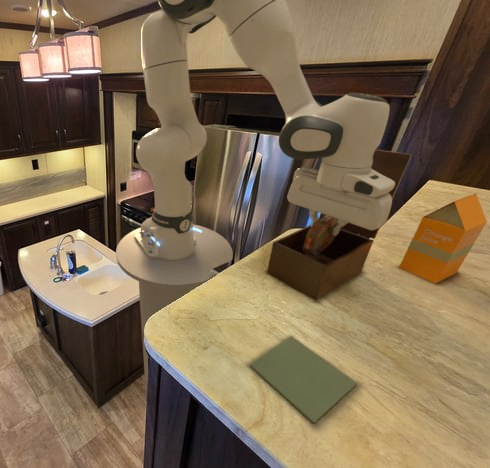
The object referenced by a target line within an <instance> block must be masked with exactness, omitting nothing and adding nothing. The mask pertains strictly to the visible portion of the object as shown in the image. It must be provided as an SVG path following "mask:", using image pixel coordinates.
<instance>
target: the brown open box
mask: <svg viewBox="0 0 490 468" xmlns="http://www.w3.org/2000/svg"><path fill="white" fill-rule="evenodd" d="M310 225H311V224H309V225H307V226H305V227H303V228H301V229H299V230H296V231H294V232H292V233H290V234H287V235H285V236H283V237H281V238H279V239H277V240H274V241H273V242H272V246H271V251H270V255H269V260H268V266H267V271H266V273H267V274H269V275H270V276H272V277H274V278H275V279H277V280H280V281H281V282H282V283H284V284H286V285H288V286H290V287H291V288H293V289H295V290H296V291H298V292H300V293H302V294H304V295H306V296H308V298H311V299H313V300H314V301H318V300H320V299H322V298H323V297H324V296H326V295H327V294H329V293H331V292H332V291H334V290H335V289H337V288H339V287H340V286H342V285H343V284H345V283H346V282H348V281H350V280H351V279H353V278H354V277H356V276H357V275H359V274H360V273H362V271H363V268H364V266H365V264H366V260H367V258H368V256H369V254H370V251H371V249H372V246H373V244H374V241H375V239H372V238H370V237H367V236H364V235H361V234H358V233H355V232H352V231H350V230H347V229H344V228H340V231H339V233H338V234H337V235H336V236H335V238H334V240H333V241H332V242H331V244H330V245H329V246H327V247H326V248H325V249H324V250H323V251H322V252H321V253H319V254H318V255H317V256H315V257H313V256H312V255H310V254H307V253H305V252H303V247H304V243H305V240H306V235H307V233H308V231H309V230H310V228H311V226H310Z"/></svg>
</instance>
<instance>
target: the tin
mask: <svg viewBox="0 0 490 468" xmlns="http://www.w3.org/2000/svg"><path fill="white" fill-rule="evenodd" d="M337 221H338V219H337V218H334V217H331V216H328V215H325V216H323V217H322V218H321V219H319V220H318V221H317V222H315V223H314V224H313V225H312V227H311V228H310V230H309V231H308V233H307V235H306V240H305V243H304V247H303V252H305V253H307V254H310V255H312V256H313V257H315V256H317V255H318V254H319V253H321V252H322V251H323V250H324V249H325V248H326V247H327V246H329V245H330V244H331V242H332V241H333V240H334V238H335V236H334V235H331V234H329V233H328V231H329V228H330V227H332V226H334V225H335V226H338V225H339V224H340V223H337Z"/></svg>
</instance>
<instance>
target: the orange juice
mask: <svg viewBox="0 0 490 468" xmlns="http://www.w3.org/2000/svg"><path fill="white" fill-rule="evenodd" d="M487 223H488V220H487V218H486V215H485V212H484V210H483V207H482V205H481V202H480V200H479V197H478V195H477V193H473V194H471V195H468V196H465V197H462V198H459V199H456V200H454V201H452V202H450V203H448V204H446V205H444V206H442V207H440V208H438V209H436V210H434V211H432V212H430V213H428V214H426V215H424V216H422V218H421V220H420V222H419V224H418V227H417V229H416V231H415V233H414V235H413V237H412V239H411V241H410V243H409V244H408V247H407V250H406V252H405V254H404V256H403V258H402V260H401V262H400V264H399V266H398V268H399V269H402V270H403V271H406V272H408V273H410V274H413V275H414V276H418V277H420V278H422V279H424V280H427V281H428V282H431V283H433V284H437V283H439V282H441V281H443V280H445V279H447V278H450V277H452V276H453V275H456V274H457V273H458V271H459V269H460V268H461V266H462V264H463V263H464V261H465V259H466V258H467V256H468V254H469V253H470V252H471V250H472V248H473V246H474V245H475V243H476V241H477V239H478V238H479V236H480V235H481V233H482V231H483V230H484V228H485V226H486V225H487Z"/></svg>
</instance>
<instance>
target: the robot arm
mask: <svg viewBox="0 0 490 468" xmlns="http://www.w3.org/2000/svg"><path fill="white" fill-rule="evenodd" d="M157 1H158V4H159V6H160V8H161V9H160V10H158V11H155V12H153V13H152V14H150V15H149V16H147V18H146V19H144V22H143V24H142V26H141V35H140V36H141V39H140V40H141V42H140V44H141V45H140V46H141V63H142V64H141V65H142V70H143V71H142V72H143V80H144V88H145V97H146V102H147V104H148V106H149V107H150V108H151V109H152V110H153V111H154V112H155V114H156V115H157V118H158V120H159V123H160V126H161V127H158V128H155V129H152V130H151V131H149V132H148V133H146V134H145V135H144V136H142V138H140V139H139V141H138V142H137V144H136V147H135V156H136V160H137V163H138V165H139V166H140V167H141V168H142V169H143V170H144V171H145V172H147V174H148V175H149V177H150V179H151V182H152V185H153V194H154V195H153V197H154V207H153V206H152V207H150V212H152V214H151V217H149V218H146V219H145V220H144V221H143V222H142V223H141V224H140V228H141V231H140V232H138V233H137V234H136V235H135V236H134V238H135V240H136V241H137V243H138V244H139V245H140V247H141V248H142V249H143V251H144V252H145V253H146V255H147V256H148V257H149V258H161V259H166V260H180V259H184V258H187V257H189V256H191V255H192V254H193V253H194V251H195V247H194V244H195V241H196V240H195V237H194V234H193V230H196V231H198V232H201V233H202V231H201V230H199V229H196V228H194V227H193V224H194V221H193V216H194V213H193V208H192V199H193V198H192V195H193V185H192V183H191V182H190V181H189V180H188V179H187V177H186V174H185V164H186V162H188V161H190V160H192V159H194V158H196V157H197V156H198V155H199V154H200V153H201V152H202V150H203V149H204V148H205V146H206V144H207V140H208V134H207V131H206V129H205V127H204V126H203V124H201V123H200V121H199V119H198V116H197V113H196V110H195V105H194V104H193V100H192V99H193V98H192V93H191V86H190V75H189V64H188V52H187V49H188V48H187V39H188V37H189V34H192V35H193V34H195V33H196V32H197V31H199V30H201V28H202V27H204V26H206V25H208V24H210V23H211V22H212V21H213V20H215V19H216V18H218V19H219V20H220V22H221V23H222V25H223V26H224V29H225V31H226V34H227V35H228V38H229V40H230V42H231V45H232V47H233V49H234V50H235V52H236V54H237V55H238V57H239V58H240V59H241V61H242V62H243V63H244V65H245V66H246V67H247V68H250V69H251V70H253V71H255V72H256V73H258V74H260V75H261V76H262V77H264V78H265V79H266V80H267V81H268V83H269V84H270V85H271V87H272V89H273V92H274V93H275V95H276V98H277V99H278V102H279V103H280V106H281V108H282V110H283V112H284V115H285V124H284V125H283V126H282V129H280V132H279V136H278V145H279V149H280V150H281V151H282V153H283V154H284V155H285V156H287V157H289V158H290V159H294V160H313V159H321V163H320V166H319V169H317V168H309V167H308V166H302V167H299V168H297V169H296V170H295V171H294V174H293V179H292V182H291V185H290V187H289V189H288V193H287V196H286V199H287V201H288V202H289V203H290V204H293V205H296V206H299V207H302V208H305V209H307V210H309V212H308V214H309V217H310V220H311V222H310V224H309V225H310V226H311V227H312V225H313V224H314V223H315V222H317V221H318V220H319V215H318V214H321V213H322V214H325V215H328V216H331V217H334V218H337V219H338V221H337V223H340V224H339V225H338V226H335V225H334V226H332V227H330V228H329V231H328V233H329V234H331V235H334V236H336V235H337V234H338V233H339V231H340V229H343V228H342V227H343V226H344V225H346V224H347V223H351V224H354V225H357V226H360V227H363V228H366V229H368V230H375V229H378V228H380V229H381V228H382V227H383V226H384V225H386V222H387V220H388V218H389V216H390V212H391V208H392V205H393V199H392V197H391V195H390V194H389V193H388V192H390V191H391V190H392V189H393V188H394V186H395V182H394V181H393V180H391V179H389V178H387V177H385V176H384V175H382V174H380V173H378V172H376V171H375V170H373V169H371V167H372V164H373V154H374V152H375V150H376V149H378V147H379V146H380V145H381V143H382V140H383V137H384V135H385V132H386V131H385V130H386V127H387V124H388V119H389V116H390V111H391V109H390V104H389V102H388V101H387V100H386V99H385V98H383V97H381V96H379V95H378V96H377V95H375V94H371V93H370V94H369V93H362V92H361V93H360V92H349V93H346V94H345V95H343V96H342V97H340V98H338V99H336V100H334V101H332V102H330V103H327V104H325V105H323V104H321V103H320V102H319V101H318V100H316V99H315V97H314V95H313V93H312V91H311V89H310V87H309V86H310V85H309V84H308V82H307V79H306V77H305V75H304V72H303V70H302V68H301V65H300V62H299V57H298V53H297V46H296V45H297V44H296V38H295V33H294V32H295V31H294V25H293V21H292V17H291V13H290V9H289V6H288V3H287V2H286V0H157Z"/></svg>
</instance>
